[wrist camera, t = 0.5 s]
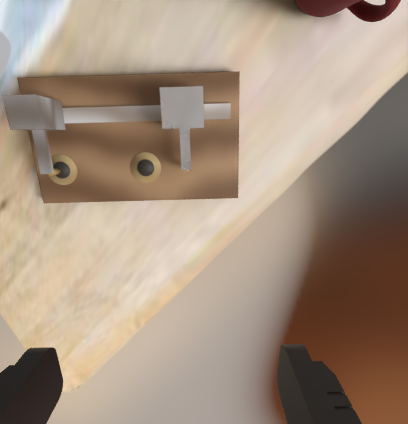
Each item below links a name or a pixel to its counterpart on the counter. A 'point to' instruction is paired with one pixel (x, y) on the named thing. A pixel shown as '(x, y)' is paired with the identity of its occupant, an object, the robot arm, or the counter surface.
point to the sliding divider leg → (182, 115)
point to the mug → (332, 3)
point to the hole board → (127, 137)
